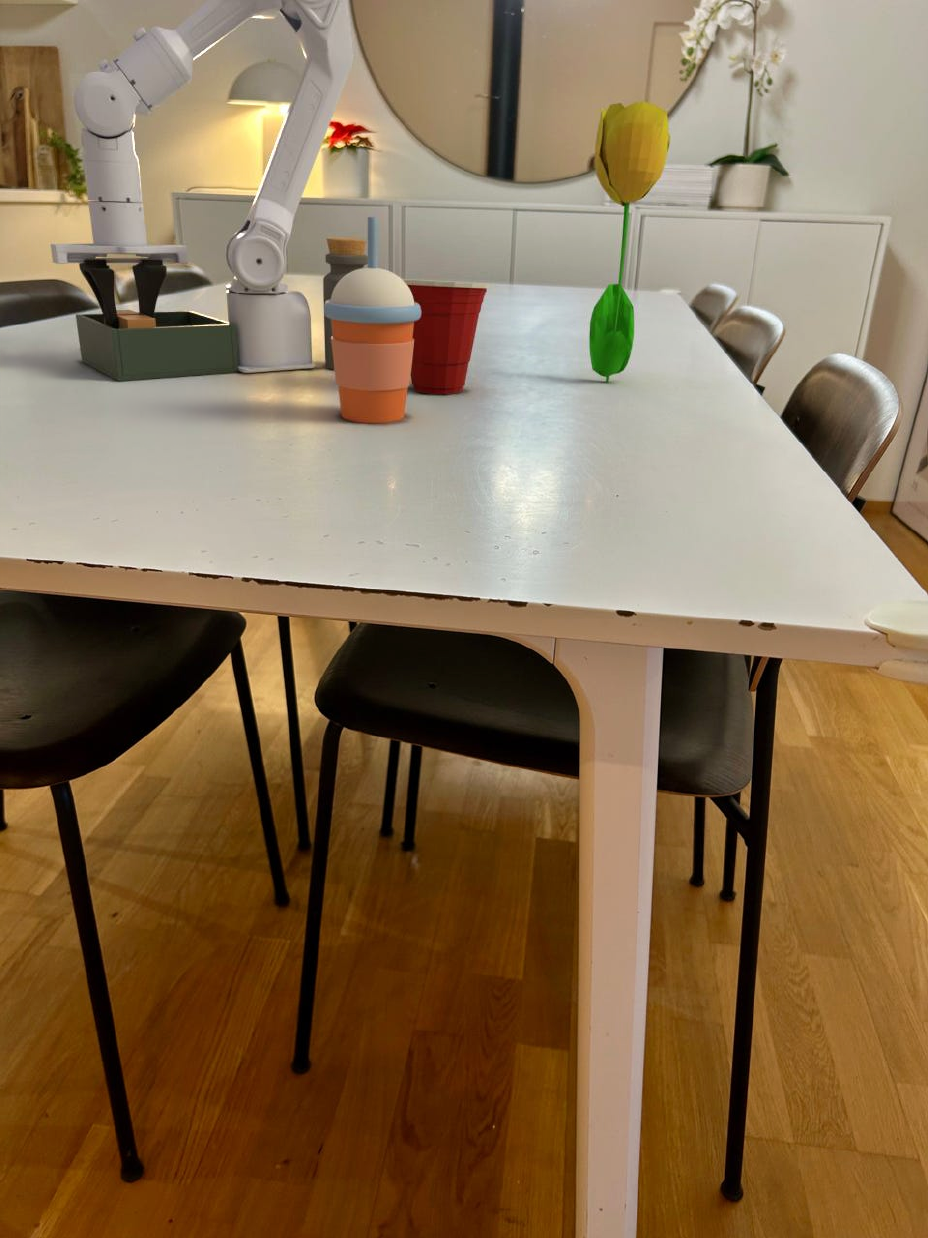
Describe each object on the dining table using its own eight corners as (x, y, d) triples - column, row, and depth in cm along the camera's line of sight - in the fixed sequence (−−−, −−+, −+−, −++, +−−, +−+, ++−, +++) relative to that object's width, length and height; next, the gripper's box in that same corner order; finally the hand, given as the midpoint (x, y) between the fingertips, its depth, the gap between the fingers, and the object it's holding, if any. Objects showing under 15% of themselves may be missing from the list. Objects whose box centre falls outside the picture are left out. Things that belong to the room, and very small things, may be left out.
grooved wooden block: (133, 337, 110) (130, 308, 109) (159, 348, 104) (156, 317, 103) (105, 339, 109) (101, 309, 107) (129, 350, 102) (125, 318, 101)
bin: (194, 354, 118) (190, 310, 116) (238, 372, 108) (235, 324, 106) (81, 361, 110) (75, 314, 108) (118, 381, 100) (111, 329, 98)
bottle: (349, 372, 110) (347, 240, 104) (315, 366, 114) (311, 237, 107) (381, 367, 115) (381, 239, 108) (347, 361, 118) (345, 236, 111)
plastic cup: (488, 383, 107) (494, 276, 102) (481, 401, 98) (486, 283, 93) (398, 378, 108) (399, 271, 103) (382, 395, 98) (382, 278, 93)
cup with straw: (405, 431, 84) (408, 219, 76) (312, 422, 85) (306, 214, 78) (428, 411, 92) (433, 218, 84) (343, 404, 94) (340, 214, 86)
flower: (645, 390, 107) (681, 101, 95) (577, 387, 107) (604, 97, 95) (634, 377, 115) (666, 108, 103) (571, 374, 115) (595, 105, 103)
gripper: (56, 200, 93) (74, 337, 99) (192, 205, 101) (202, 331, 107) (39, 198, 98) (57, 328, 104) (170, 203, 106) (181, 323, 112)
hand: (130, 329), depth 106 cm, fingers closed on grooved wooden block, 3 cm apart
